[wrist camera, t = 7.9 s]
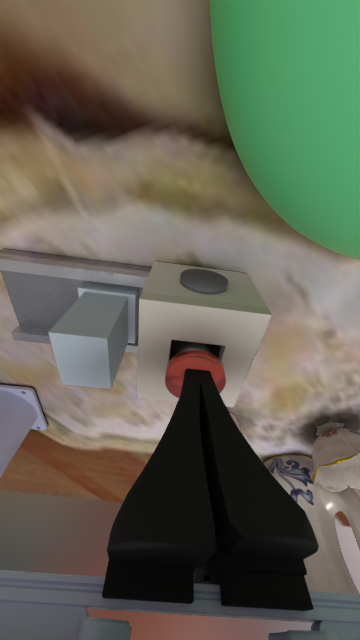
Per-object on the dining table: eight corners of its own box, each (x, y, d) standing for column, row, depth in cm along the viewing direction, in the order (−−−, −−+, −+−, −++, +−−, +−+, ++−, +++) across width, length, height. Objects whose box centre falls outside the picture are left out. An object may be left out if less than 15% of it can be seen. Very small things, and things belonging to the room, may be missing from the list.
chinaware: (344, 379, 25) (537, 631, 10) (404, 450, 30) (595, 692, 15) (174, 459, 36) (153, 631, 22) (237, 501, 41) (254, 666, 26)
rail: (28, 326, 20) (14, 339, 18) (4, 248, 16) (-17, 256, 14) (149, 339, 20) (146, 354, 19) (153, 267, 16) (149, 277, 15)
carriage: (90, 328, 18) (54, 385, 13) (84, 280, 16) (37, 327, 11) (137, 334, 19) (119, 392, 14) (138, 287, 16) (116, 336, 11)
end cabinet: (149, 343, 21) (137, 397, 16) (154, 255, 16) (139, 291, 11) (222, 352, 21) (233, 407, 16) (248, 268, 16) (275, 308, 11)
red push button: (168, 346, 17) (162, 398, 13) (172, 309, 15) (167, 356, 11) (211, 351, 17) (218, 404, 13) (220, 315, 15) (232, 363, 11)
